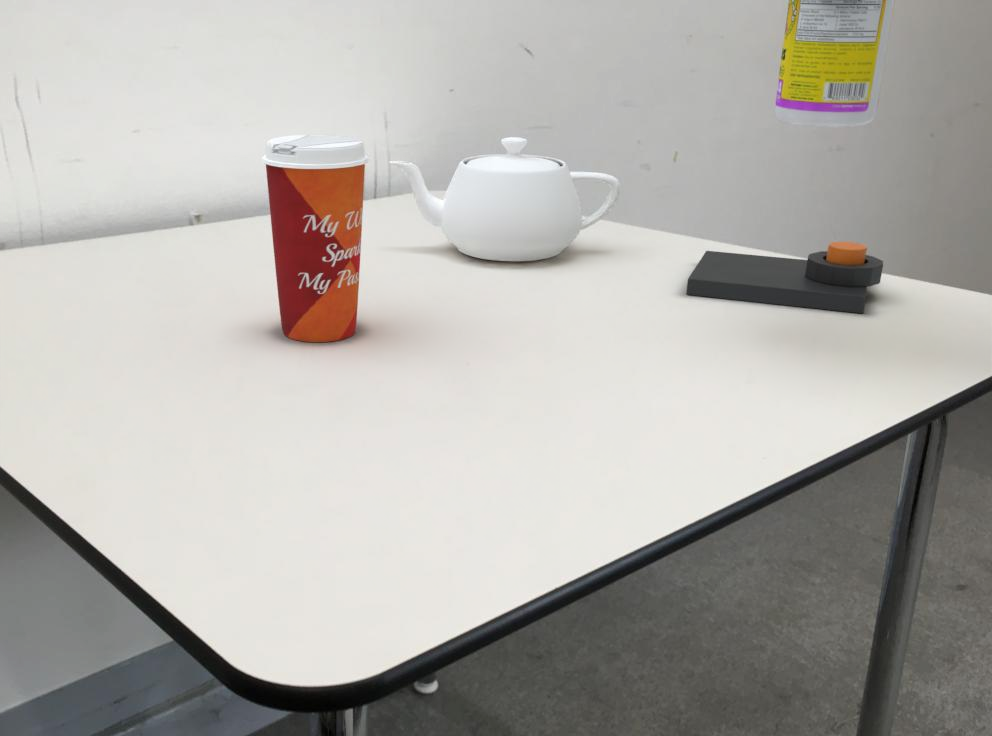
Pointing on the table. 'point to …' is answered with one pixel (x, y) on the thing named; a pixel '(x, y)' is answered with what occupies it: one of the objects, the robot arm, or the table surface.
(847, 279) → the scale
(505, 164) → the teapot
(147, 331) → the table surface
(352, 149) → the paper cup
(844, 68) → the supplement bottle
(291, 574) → the table surface
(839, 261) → the tare button
